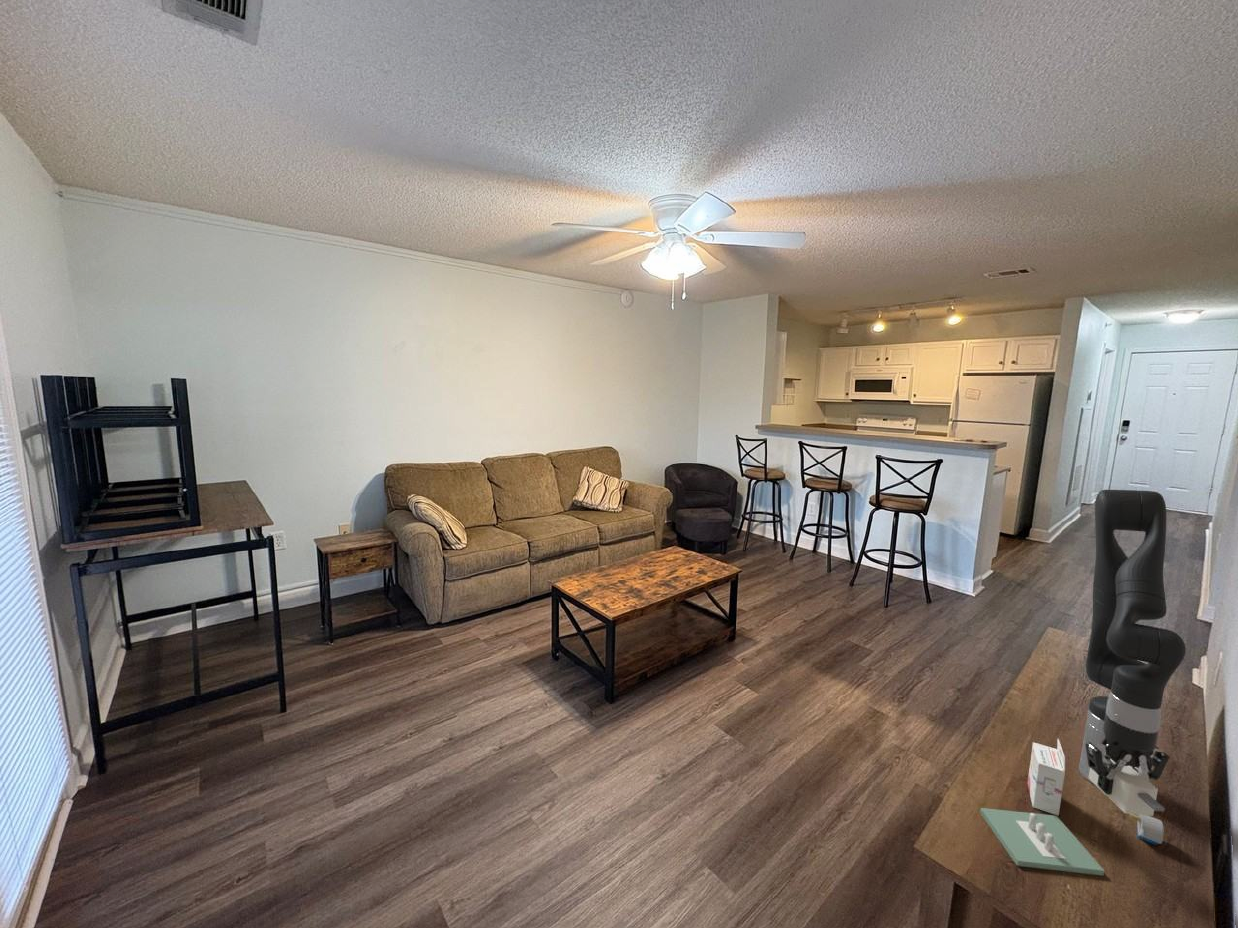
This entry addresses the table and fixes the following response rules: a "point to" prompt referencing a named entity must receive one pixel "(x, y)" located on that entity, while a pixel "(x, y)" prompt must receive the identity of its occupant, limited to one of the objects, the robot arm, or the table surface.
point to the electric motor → (1149, 828)
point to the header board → (1040, 841)
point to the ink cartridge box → (1046, 777)
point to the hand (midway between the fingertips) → (1119, 791)
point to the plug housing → (1131, 792)
